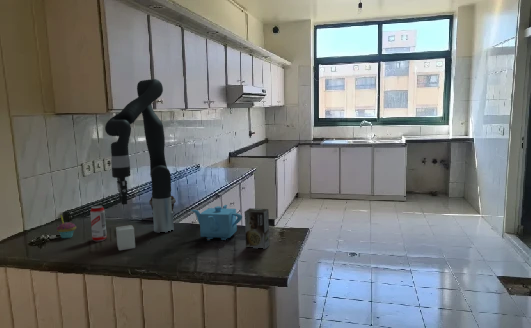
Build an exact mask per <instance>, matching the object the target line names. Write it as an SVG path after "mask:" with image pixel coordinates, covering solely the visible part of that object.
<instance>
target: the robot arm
mask: <svg viewBox="0 0 531 328" xmlns="http://www.w3.org/2000/svg"><path fill="white" fill-rule="evenodd" d="M163 91H164V87H163V84H162V82H161V81H160V80H159V79H157V78H152V79H151V78H150V79H143V80H139V81H138V83H137V85H136V93H137V96H138V97H136V98H135V99H133V100H131V101H129V103H128V104H126V105H125V106H124V107H123V109H122V110H121V111H120V112H118V113H116V114H115V115H114V116H112V117H111V118H110V119H108V120H107V122H106V124H105V127H104V130H105V133H106V134H107V135H108V136H111V137H118V139H117V141H114V142H112V143H111V144H110V154H111V155H110V156H111V157H110V158H111V162H110V163H111V176H112V177H111V178H116V185H117V186H116V188H117V192H118V197H119V202H121V205H127V204H128V197H127V196H128V194H129V193H128V181H127V180H126V178H127V177H128V178H129V177H130V176H131V161H130V155H129V143H130V138H131V134H132V124H134V123H135V121H137V119H138V117H140V115H142V116H141V117H142V121H143V130H144V138H145V142H146V143H145V144H146V147H147V151H148V156H149V170H150V171H149V172H150V173H149V175H150V178H151V197H152V204H153V210H152V213H153V214H152V218H153V219H152V220H153V232H154V233H158V234H161V233H160V232H165V233H169V232H168V231H170V232H171V230H173V231H174V230H175V227H174V226H175V225H174V214H173V212H172V206H171V196H172V190H171V189H172V178H171V171H170V170H169V168H168V166H167V161H166V157H165V156H166V155H165V146H166V144H165V142H166V141H165V140H166V139H165V138H166V137H165V129H164V125H163V123H162V121H161V119H160V118H159V117H158V115H157V114H156V112H155V111H154V108H153V107H152V106H153V105H152V104H153V103H154V102H155V101H156V100H158V99H159V98H160V97H161V96H162V94H163Z"/></svg>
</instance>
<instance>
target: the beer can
mask: <svg viewBox="0 0 531 328" xmlns="http://www.w3.org/2000/svg"><path fill="white" fill-rule="evenodd" d="M89 212H90V214H89V215H90V223H91V227H90V228H91V239H92V241H94V242H96V243H97V242H104V241H105V240H106V239H107V226H106V225H107V224H106V215H105V214H106V213H105V212H106V211H105V208H104V206H103V205H94V206H91V209H90V211H89Z"/></svg>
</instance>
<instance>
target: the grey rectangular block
mask: <svg viewBox="0 0 531 328" xmlns="http://www.w3.org/2000/svg"><path fill="white" fill-rule="evenodd" d="M115 232H116V243H117V244H116V246H117V249H118V251H123V250H131V249H136V239H135V227H134V226H133V225H132V224H128V225H122V226H116V227H115Z"/></svg>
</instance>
